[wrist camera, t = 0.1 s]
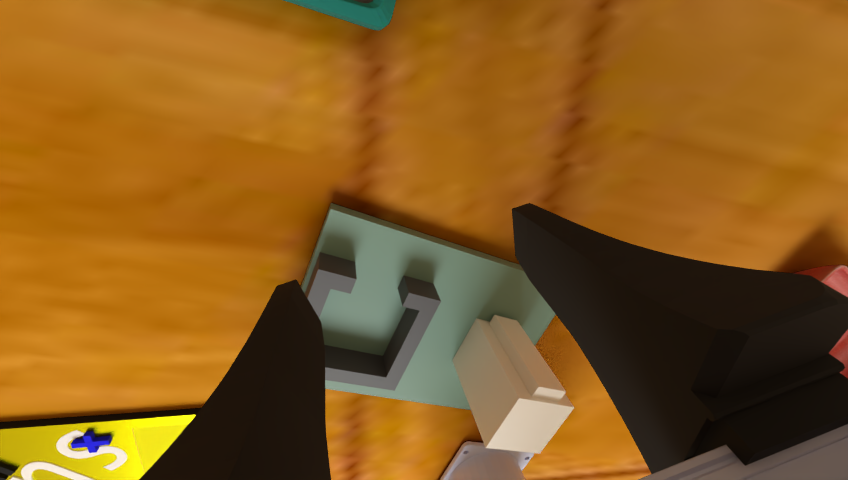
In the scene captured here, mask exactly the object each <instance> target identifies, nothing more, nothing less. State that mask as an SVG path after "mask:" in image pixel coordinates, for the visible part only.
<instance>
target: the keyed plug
mask: <svg viewBox="0 0 848 480" xmlns="http://www.w3.org/2000/svg"><path fill="white" fill-rule="evenodd" d="M452 361H453V364H454V367H455V369H456V372H457V374H458V377H459V380H460V382H461V385H462V388H463V390H464V393H465V395H466V398H467V401H468V403H469V406H470V408H471V411H472V414H473V416H474V419H475V422H476V424H477V427H478V429H479V432H480V435H481V437H482V440H483V442H484V445H485V448H491V449H501V450H511V451H520V452H530V453H539V454H540V452H541V451H542V450H543V449H544V447H545V446H546V445H547V443H548V442H549V441H550V439H551V438H552V437H553V435H554V434H555V433H556V431H557V430H558V429H559V427H560V426H561V425H562V423H563V422H564V421H565V419H566V418H567V417H568V415H569V414H570V413H571V411H572V410H573V409H574V406H573V405H572V403H571V402H570V400H569V399H568V397H567V396H566V394H565V393H566V390H565V389H564V388H563V386H562V385H561V383H560V382H559V380H558V379H557V377H556V376H555V375H554V373H553V372H552V370H551V369H550V367H549V366H548V364H547V363H546V362H545V360H544V359H543V357H542V356H541V354H540V353H539V351H538V350H537V349H536V347H535V346H534V344H533V343H532V341H531V340H530V338H529V337H528V336H527V334H526V333H525V331H524V330H523V328H522V327H521V325H520V324H519V323H518V321H517V320H513V319H509V318H505V317H501V316H498V315H494V316H493V318H492V320H491V321H490V322H489V321H485V320H481V319H477V318H476V320H475V322H474V323H473V325H472V327H471V329H470V330H469V332H468V334H467V336H466V337H465V339H464V341H463V343H462V344H461V346H460V348H459V350H458V351H457V353H456V355H455V357H454V358H453V360H452Z"/></svg>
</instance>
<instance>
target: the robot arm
mask: <svg viewBox="0 0 848 480" xmlns="http://www.w3.org/2000/svg"><path fill="white" fill-rule="evenodd" d="M512 216H513V230H514V243H515V256H516V258H517V260H518V261H519V263H520V265H521V267H522V269H523V270H524V272H525V274H526V275H527V277H528V279H529V280H530V282H531V283H532V284H533V285H534V287H535V288H536V289H537V291H538V292H539V293H540V295H541V296H542V297H543V298H544V300H545V301H546V302H547V304H548V305H549V306H550V307H551V309H552V310H553V311H554V312H555V314H556V315H557V316H558V318H559V319H560V320H561V321H562V323H563V324H564V325H565V327H566V328H567V329H568V330H569V332H570V333H571V335H572V336H573V337H574V339H575V340H576V342H577V343H578V345H579V346H580V348H581V350H582V351H583V353H584V354H585V356H586V358H587V359H588V361H589V362H590V364H591V366H592V367H593V369H594V370H595V372H596V374H597V376H598V377H599V379H600V381H601V382H602V384H603V386H604V387H605V389H606V391H607V392H608V394H609V396H610V397H611V399H612V401H613V403H614V405H615V406H616V408H617V410H618V412H619V413H620V415H621V417H622V419H623V421H624V422H625V424H626V426H627V428H628V430H629V431H630V433H631V435H632V437H633V439H634V441H635V443H636V445H637V446H638V448H639V450H640V452H641V454H642V456H643V458H644V460H645V462H646V464H647V465H648V467H649V469H650V471H651V473H652V474H651V475H648V476H646V477H643V478H641V479H638V480H848V378H846V377H845V376H844V375H842V374H841V373H840V372H841V371H843V370H844V369H845V366H844V364H843V363H842V362H840V361H839V360H838V359H836V358H835V357H833V356H832V355H831V354H829V352H830V351H831V350H832V348H833V347H834V346H835V345H836V343H837V342H838V341H839V340H840V338H841V337H842V336H843V335H844V333H845V332H846V331H847V330H848V297H846V296H845V295H843V294H841V293H840V292H838V291H836V290H834V289H833V288H831V287H829V286H828V285H826V284H824V283H823V282H821V281H819V280H818V279H816V278H814V277H812V276H810V275H803V274H793V273H783V272H773V271H763V270H754V269H746V268H740V267H733V266H726V265H720V264H714V263H708V262H703V261H697V260H693V259H688V258H683V257H679V256H674V255H670V254H666V253H662V252H658V251H654V250H650V249H647V248H643V247H640V246H636V245H633V244H630V243H627V242H623V241H620V240H618V239H615V238H612V237H609V236H607V235H604V234H601V233H598V232H596V231H593V230H591V229H588V228H586V227H583V226H581V225H579V224H576V223H574V222H571V221H569V220H567V219H565V218H562V217H560V216H558V215H556V214H553V213H551V212H549V211H547V210H545V209H542V208H540V207H538V206H535V205H533V204H530V203H528V204H525V205H522V206H519V207H516V208H513V209H512ZM533 455H534V453H530V452H520V451H511V450H501V449H491V448H485V445H484V443H480V442H471V441H467V442H465V443H463V445H462V446H461V448H460V449H459V451H458V452H457V454H456V455H455V457H454V459H453V460H452V462H451V463H450V465H449V466H448V468H447V469H446V471H445V472H444V474H443V476H442V477H441V479H440V480H525V478H524V475H523V473H522V470H523V469H524V467H525V466H526V465H527V463H528V462H529V461H530V459H531V458H532V457H533ZM139 480H331V476H330V468H329V459H328V449H327V439H326V425H325V346H324V337H323V331H322V324H321V321H320V319H319V317H318V315H317V314H316V312H315V310H314V309H313V307H312V305H311V304H310V302H309V300H308V298H307V297H306V295H305V293H304V292H303V290H302V288H301V287H300V285H299V283H298V282H297V280H293V281H290V282H287V283H284V284H281V285H278V286H277V287H276V289H275V291H274V292H273V294H272V296H271V298H270V300H269V302H268V303H267V305H266V307H265V309H264V311H263V313H262V315H261V317H260V318H259V320H258V322H257V324H256V326H255V327H254V329H253V331H252V333H251V335H250V336H249V338H248V340H247V342H246V343H245V345H244V347H243V348H242V350H241V351H240V353H239V355H238V356H237V358H236V359H235V361H234V363H233V364H232V366H231V367H230V369H229V371H228V372H227V374H226V375H225V377H224V378H223V379H222V381H221V382H220V384H219V385H218V387H217V388H216V389H215V391H214V392H213V393H212V395H211V396H210V397H209V399H208V400H207V401H206V403H205V404H204V406H203V407H202V408H201V409H200V411H199V412H198V413H197V414H196V416H195V417H194V418H193V419H192V420H191V422H190V423H189V424H188V425H187V426H186V428H185V429H184V430H183V431H182V432H181V434H180V435H179V436H178V437H177V438H176V440H175V441H174V442H173V443H172V444H171V445H170V447H169V448H168V449H167V450H166V451H165V452H164V453H163V454H162V455H161V457H160V458H159V459H158V460H157V461H156V462H155V463H154V464H153V465H152V466H151V468H150V469H149V470H148V471H147V472H146V473H145V474H144V475H143V476H142V477H141V478H140V479H139Z"/></svg>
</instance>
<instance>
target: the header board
mask: <svg viewBox="0 0 848 480" xmlns="http://www.w3.org/2000/svg"><path fill="white" fill-rule="evenodd" d="M301 288H302V290H303V292H304V293H305V295H306V297H307V298H308V300H309V302H310V304H311V305H312V307H313V309H314V310H315V312H316V314H317V315H318V317H319V319H320V321H321V324H322V331H323V337H324V346H325V389H331V390H338V391H345V392H352V393H359V394H365V395H372V396H379V397H386V398H393V399H400V400H407V401H413V402H420V403H427V404H434V405H441V406H448V407H454V408H461V409H468V410H471V408H470V406H469V403H468V401H467V398H466V395H465V393H464V390H463V388H462V385H461V382H460V380H459V377H458V374H457V372H456V369H455V367H454V364H453V361H452V360H453V358H454V357H455V355H456V353H457V351H458V350H459V348H460V346H461V344H462V343H463V341H464V339H465V337H466V336H467V334H468V332H469V330H470V329H471V327H472V325H473V323H474V322H475V320H476V318H477V319H481V320H485V321H489V322H490V321H491V320H492V318H493V316H494V315H498V316H501V317H505V318H509V319H513V320H517V321H518V323H519V324H520V325H521V327H522V328H523V330H524V331H525V333H526V334H527V336H528V337H529V338H530V340H531V341H532V343H533V344H534V346H535V345H536V343H537V342H538V340H539V339H540V337H541V336H542V334H543V333H544V331H545V330H546V328H547V327H548V325H549V324H550V322H551V320H552V319H553V317H554V316H555V312H554V311H553V310H552V309H551V307H550V306H549V305H548V304H547V302H546V301H545V300H544V298H543V297H542V296H541V295H540V293H539V292H538V291H537V289H536V288H535V287H534V285H533V284H532V283H531V282H530V280H529V279H528V277H527V275H526V274H525V272H524V270H523V269H522V267H521V265H519V264H516V263H513V262H510V261H507V260H503V259H500V258H497V257H494V256H491V255H488V254H485V253H482V252H479V251H476V250H473V249H470V248H467V247H464V246H461V245H458V244H455V243H452V242H449V241H446V240H443V239H440V238H437V237H433V236H430V235H427V234H424V233H421V232H418V231H415V230H412V229H409V228H406V227H403V226H400V225H397V224H394V223H391V222H388V221H385V220H382V219H379V218H376V217H373V216H370V215H367V214H363V213H360V212H357V211H354V210H351V209H348V208H345V207H342V206H339V205H336V204H333V203H331V204H330V207H329V210H328V213H327V216H326V218H325V221H324V224H323V227H322V229H321V232H320V235H319V238H318V241H317V243H316V246H315V249H314V252H313V254H312V257H311V260H310V263H309V266H308V268H307V271H306V274H305V277H304V279H303V282H302V285H301Z"/></svg>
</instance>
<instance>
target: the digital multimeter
mask: <svg viewBox="0 0 848 480" xmlns="http://www.w3.org/2000/svg"><path fill="white" fill-rule="evenodd" d="M284 1H287V2H291V3H294V4H297V5H300V6H303V7H306V8H309V9H312V10H315V11H318V12H321V13H324V14H327V15H330V16H333V17H336V18H339V19H342V20H345V21H348V22H351V23H354V24H358V25H361V26H364V27H367V28H370V29H373V30H381V29H383V28H384V27H385V26H387V25H388V24H389V23H390V20H391V18H392V14H393V10H394V6H395V2H396V0H284Z"/></svg>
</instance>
